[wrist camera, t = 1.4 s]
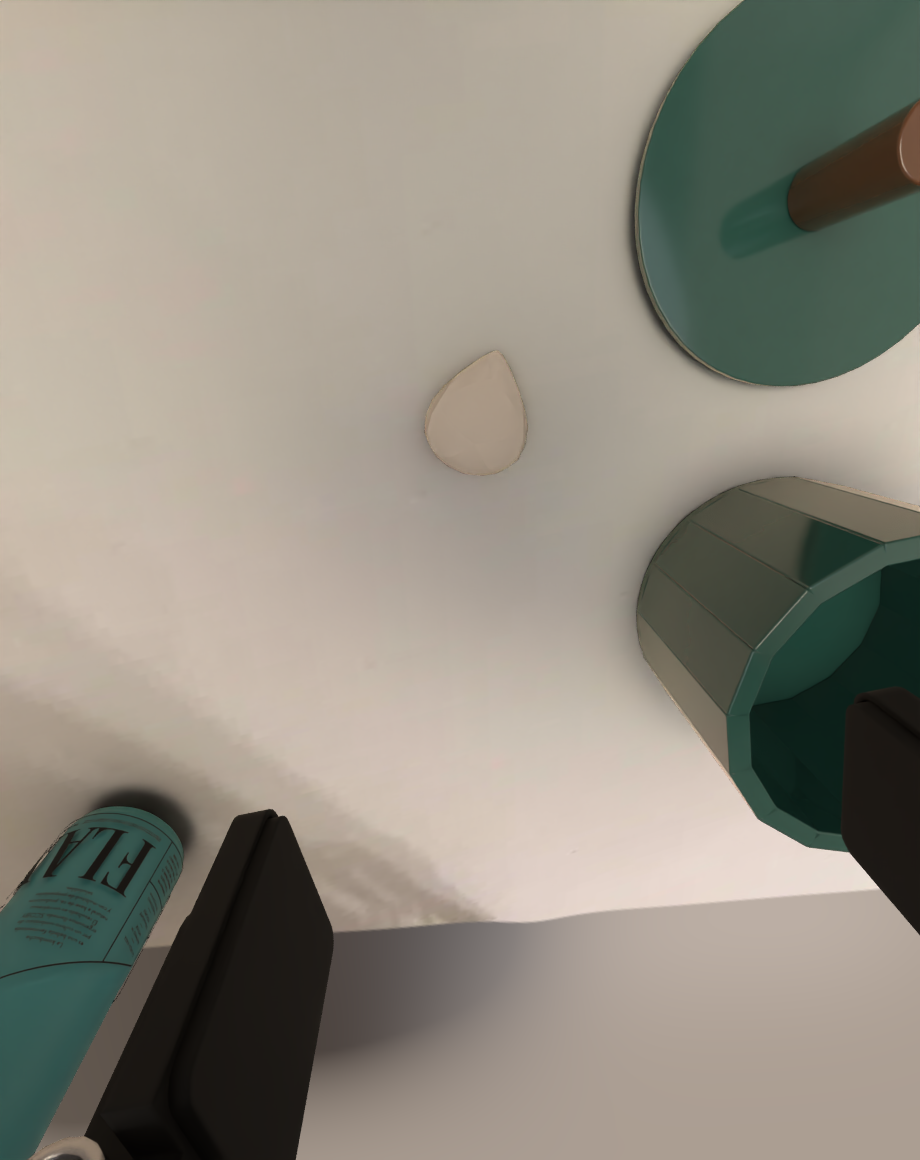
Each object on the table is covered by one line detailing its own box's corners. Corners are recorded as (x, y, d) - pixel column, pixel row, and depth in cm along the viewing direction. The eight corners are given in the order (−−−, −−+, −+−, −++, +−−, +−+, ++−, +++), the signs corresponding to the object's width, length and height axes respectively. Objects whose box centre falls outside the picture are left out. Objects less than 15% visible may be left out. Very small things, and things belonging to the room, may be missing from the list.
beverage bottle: (202, 790, 31) (-174, 1448, 12) (198, 881, 33) (-126, 1558, 14) (77, 774, 30) (-530, 1442, 11) (81, 868, 32) (-420, 1557, 13)
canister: (622, 509, 26) (718, 578, 17) (896, 449, 26) (1140, 489, 17) (648, 732, 30) (735, 880, 21) (883, 685, 30) (1072, 817, 21)
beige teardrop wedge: (416, 454, 25) (413, 462, 23) (445, 336, 23) (446, 332, 21) (508, 480, 25) (515, 490, 23) (543, 366, 24) (555, 365, 21)
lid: (609, 30, 20) (685, -124, 14) (995, -67, 20) (1254, -273, 13) (646, 416, 25) (715, 430, 18) (959, 347, 24) (1138, 336, 18)
